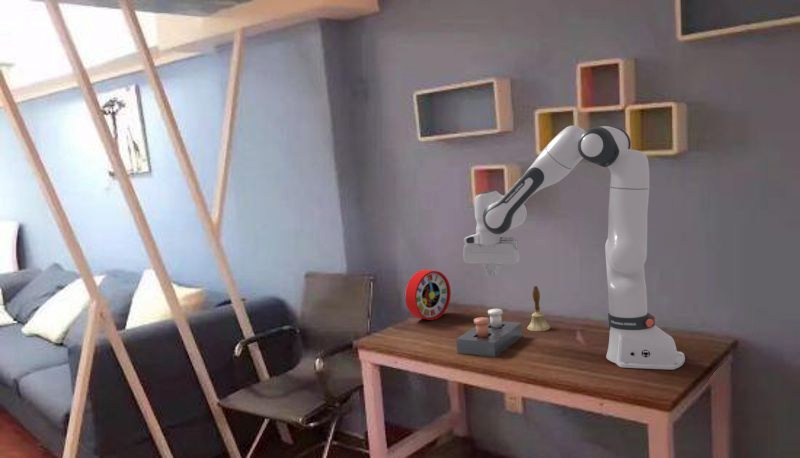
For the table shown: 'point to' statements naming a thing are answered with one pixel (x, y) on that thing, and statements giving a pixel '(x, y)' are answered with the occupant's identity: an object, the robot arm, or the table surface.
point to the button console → (489, 340)
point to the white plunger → (495, 317)
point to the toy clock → (428, 294)
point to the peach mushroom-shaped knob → (482, 326)
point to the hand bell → (537, 315)
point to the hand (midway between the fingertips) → (492, 276)
